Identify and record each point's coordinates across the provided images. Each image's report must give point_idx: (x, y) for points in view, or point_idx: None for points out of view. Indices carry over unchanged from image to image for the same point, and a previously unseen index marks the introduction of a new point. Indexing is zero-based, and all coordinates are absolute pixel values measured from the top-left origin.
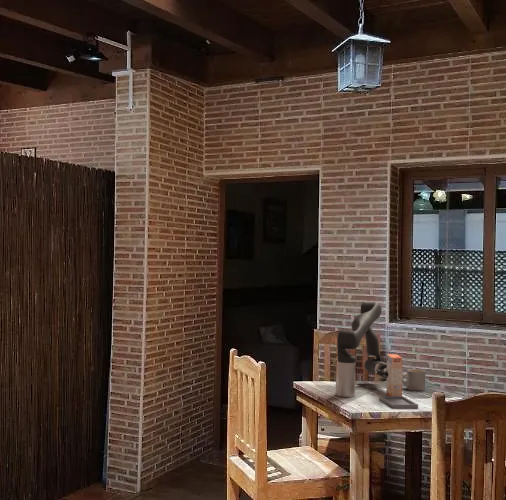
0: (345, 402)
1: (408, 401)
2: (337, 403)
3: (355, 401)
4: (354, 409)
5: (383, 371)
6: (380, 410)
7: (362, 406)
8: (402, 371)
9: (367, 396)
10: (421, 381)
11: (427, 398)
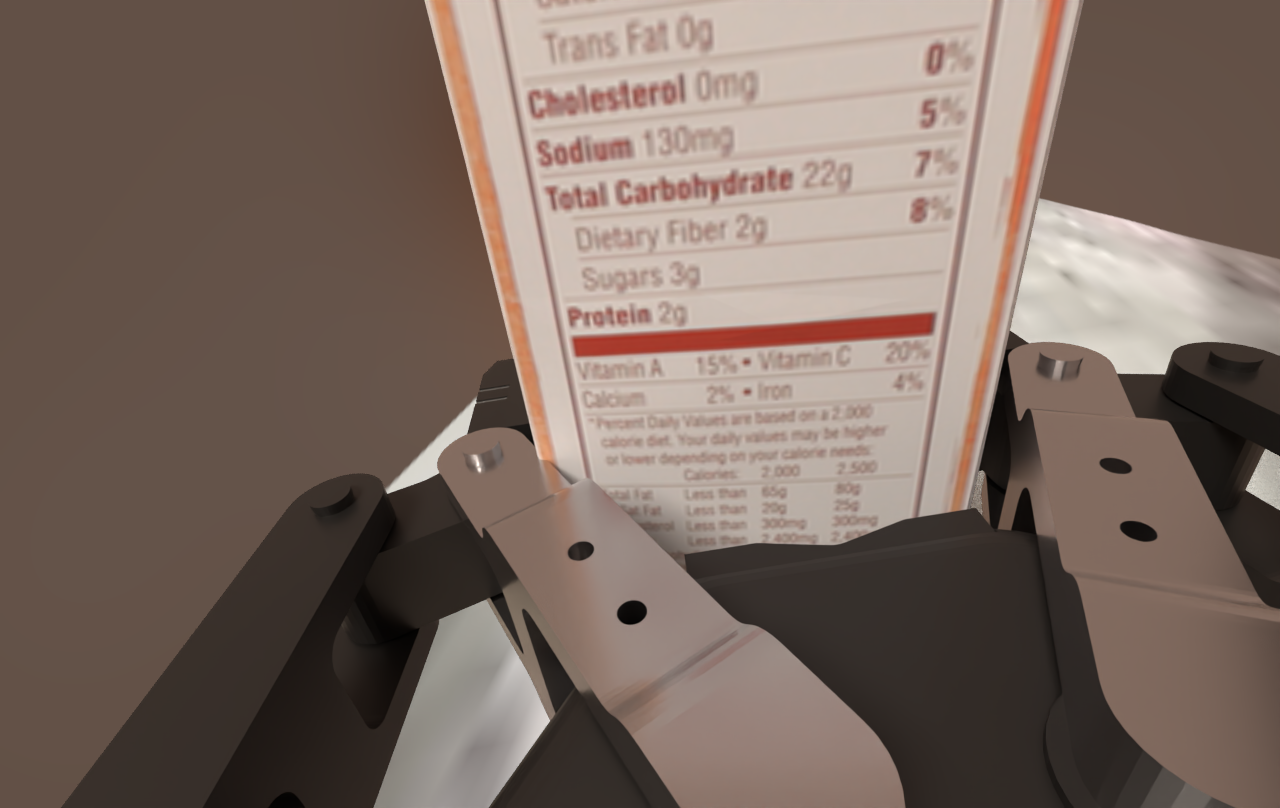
0: (1233, 296)
1: None
2: (1276, 269)
3: (1164, 330)
4: (1049, 223)
5: (1089, 354)
6: None
7: (1025, 262)
8: (309, 493)
9: None
10: None
11: None
